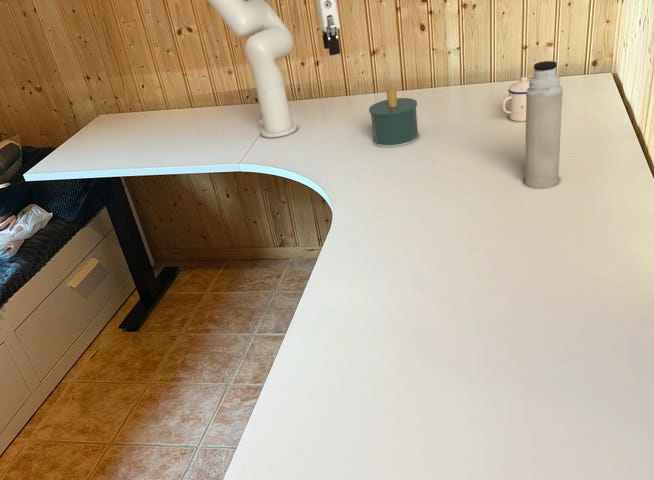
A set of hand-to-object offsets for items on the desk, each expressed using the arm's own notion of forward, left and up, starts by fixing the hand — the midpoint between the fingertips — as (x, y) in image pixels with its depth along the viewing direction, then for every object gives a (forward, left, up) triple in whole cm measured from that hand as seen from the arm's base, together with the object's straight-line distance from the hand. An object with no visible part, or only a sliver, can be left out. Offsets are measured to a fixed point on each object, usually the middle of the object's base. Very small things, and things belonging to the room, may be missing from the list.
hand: (332, 51), depth 200 cm
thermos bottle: (+74, -2, -26) cm, 79 cm away
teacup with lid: (+42, +35, -26) cm, 61 cm away
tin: (+17, +6, -26) cm, 32 cm away
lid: (+17, +6, -17) cm, 25 cm away
